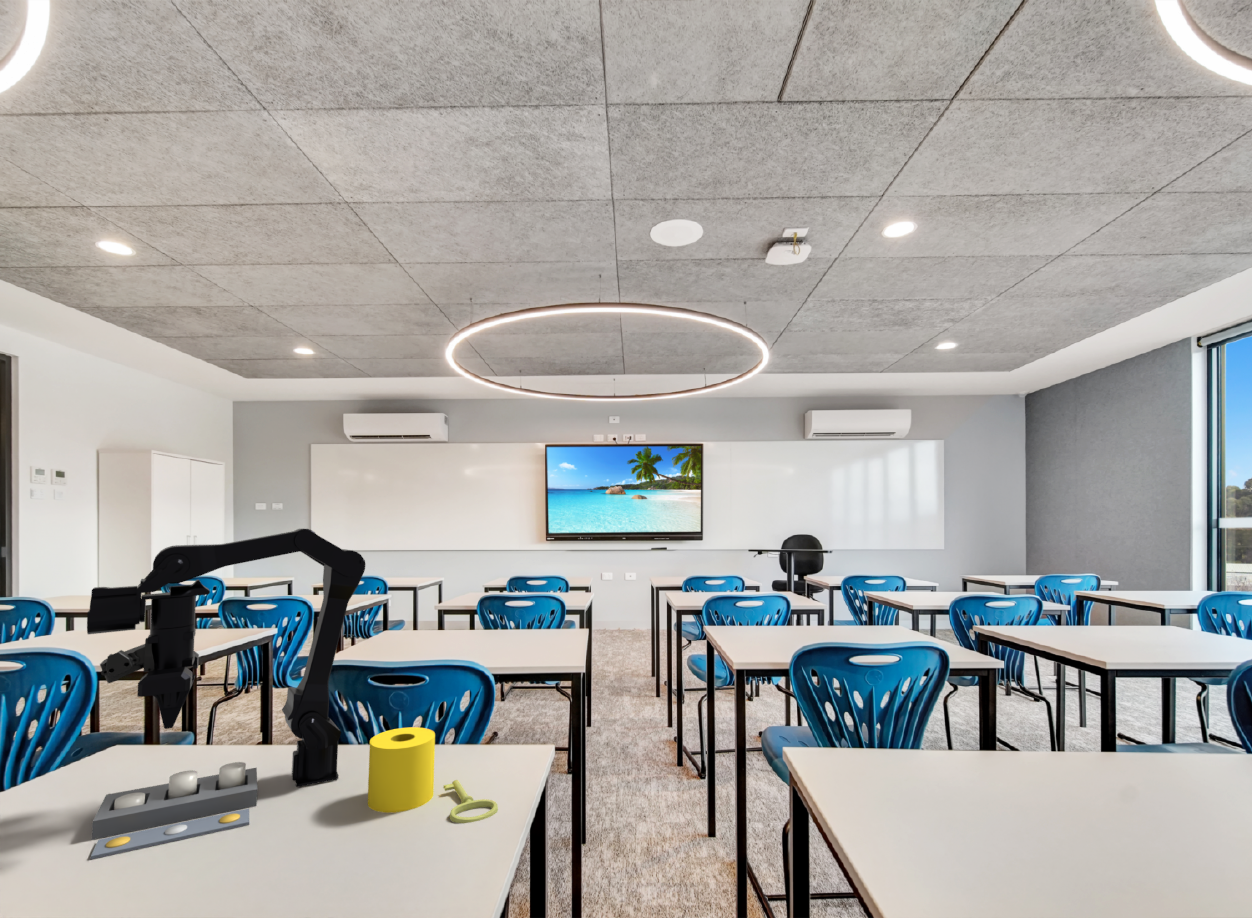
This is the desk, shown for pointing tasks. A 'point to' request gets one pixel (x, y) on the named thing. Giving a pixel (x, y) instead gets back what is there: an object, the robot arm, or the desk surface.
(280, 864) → the desk surface
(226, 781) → the button
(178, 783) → the button middle
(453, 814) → the key
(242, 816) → the pattern card
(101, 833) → the button panel
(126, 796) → the button
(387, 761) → the yellow cylinder with hole
